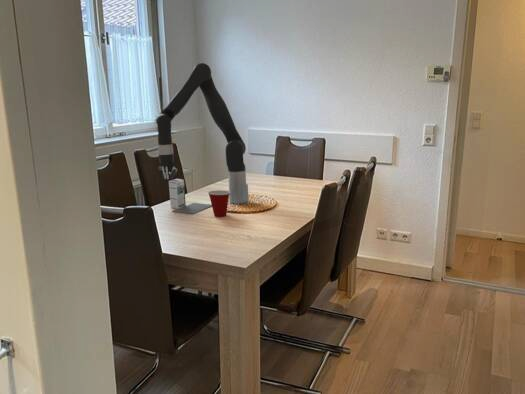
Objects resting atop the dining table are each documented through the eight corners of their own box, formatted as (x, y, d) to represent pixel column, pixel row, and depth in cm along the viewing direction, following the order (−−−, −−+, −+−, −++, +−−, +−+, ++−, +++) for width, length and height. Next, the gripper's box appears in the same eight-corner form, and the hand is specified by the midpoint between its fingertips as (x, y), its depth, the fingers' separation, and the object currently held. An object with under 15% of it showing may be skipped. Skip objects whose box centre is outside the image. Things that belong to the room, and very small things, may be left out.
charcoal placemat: (213, 205, 253) (213, 204, 253) (192, 214, 237) (192, 213, 237) (193, 203, 259) (193, 202, 259) (172, 211, 244) (172, 211, 244)
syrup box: (177, 208, 249) (176, 181, 245) (170, 207, 252) (168, 180, 249) (186, 206, 253) (184, 179, 250) (178, 204, 257) (176, 178, 253)
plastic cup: (236, 214, 233) (235, 190, 230) (219, 219, 226) (217, 194, 223) (222, 211, 240) (220, 187, 238) (204, 216, 233) (203, 191, 230)
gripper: (180, 152, 249) (183, 185, 253) (161, 151, 255) (163, 183, 259) (171, 154, 243) (173, 188, 247) (151, 153, 249) (154, 186, 253)
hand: (168, 185), depth 253 cm, fingers closed
